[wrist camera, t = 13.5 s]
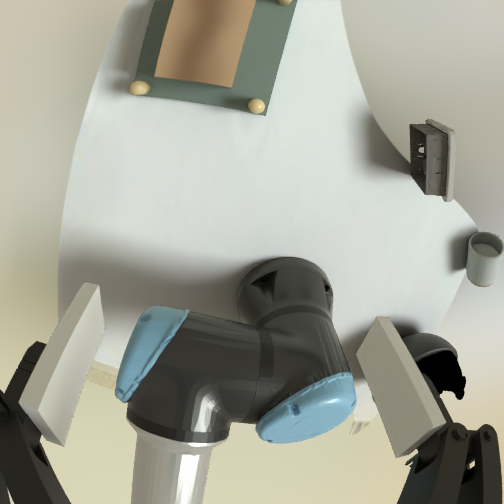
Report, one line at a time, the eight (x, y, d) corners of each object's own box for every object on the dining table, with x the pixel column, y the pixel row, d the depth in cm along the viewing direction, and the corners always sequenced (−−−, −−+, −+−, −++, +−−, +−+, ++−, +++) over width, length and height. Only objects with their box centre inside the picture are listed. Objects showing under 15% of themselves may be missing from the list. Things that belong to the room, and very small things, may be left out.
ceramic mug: (459, 273, 48) (480, 296, 41) (461, 239, 44) (485, 262, 37) (493, 254, 46) (514, 274, 40) (496, 221, 42) (521, 240, 36)
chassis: (295, 0, 25) (304, -11, 21) (264, 114, 33) (268, 118, 29) (165, -20, 22) (156, -33, 18) (136, 94, 30) (122, 95, 26)
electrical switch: (429, 178, 38) (461, 202, 30) (401, 180, 38) (430, 206, 31) (429, 117, 33) (466, 130, 25) (399, 117, 34) (432, 129, 26)
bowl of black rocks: (351, 380, 62) (372, 448, 46) (372, 320, 52) (409, 401, 36) (420, 365, 63) (447, 423, 47) (450, 306, 52) (492, 370, 36)
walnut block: (254, 5, 24) (260, -17, 17) (232, 88, 30) (231, 87, 23) (194, -4, 23) (183, -27, 16) (172, 79, 29) (154, 76, 22)
